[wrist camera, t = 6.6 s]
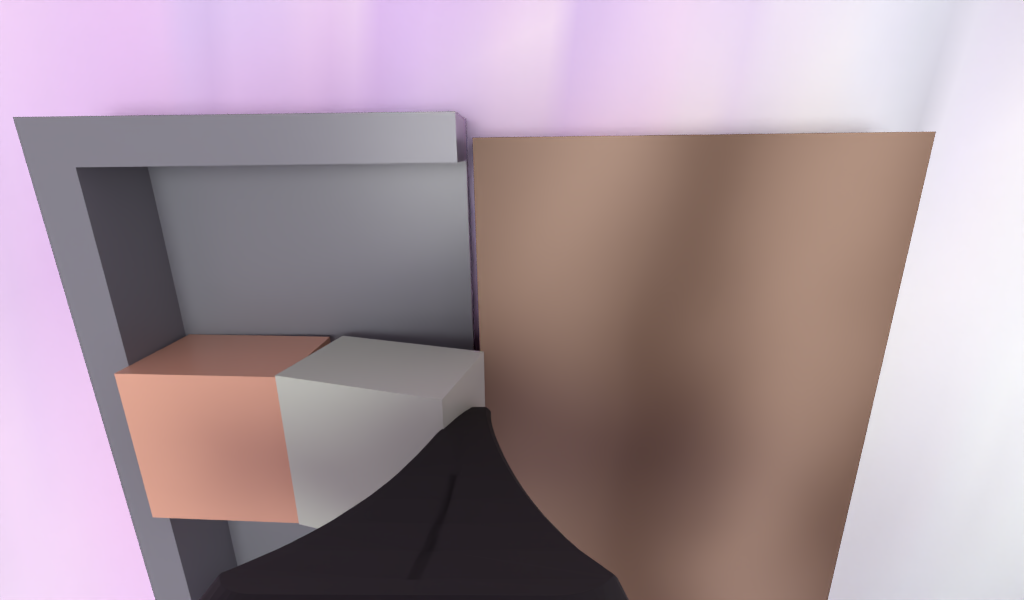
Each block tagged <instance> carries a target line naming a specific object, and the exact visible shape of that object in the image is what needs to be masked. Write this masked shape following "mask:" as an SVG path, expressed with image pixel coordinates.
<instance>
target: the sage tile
mask: <svg viewBox="0 0 1024 600" xmlns="http://www.w3.org/2000/svg"><path fill="white" fill-rule="evenodd" d="M275 379H276V385H277V392H278V398H279V404H280V410H281V416H282V422H283V428H284V435H285V441H286V447H287V453H288V459H289V465H290V472H291V478H292V484H293V490H294V496H295V502H296V508H297V515H298V521H299V524H300V525H305V526H309V527H313V528H317V529H318V528H320V527H321V526H323V525H325V524H327V523H328V522H330V521H332V520H334V519H335V518H337V517H338V516H340V515H341V514H343V513H344V512H346V511H347V510H349V509H351V508H352V507H354V506H355V505H357V504H358V503H360V502H361V501H363V500H364V499H366V498H367V497H369V496H370V495H371V494H373V493H374V492H375V491H377V490H378V489H379V488H381V487H382V486H383V485H384V484H386V483H387V482H388V481H390V480H391V479H392V478H393V477H394V476H395V475H396V474H398V473H399V472H400V471H401V470H402V469H403V468H404V467H405V466H406V465H407V464H408V463H409V462H410V461H411V460H412V459H413V458H414V457H415V456H416V455H417V454H418V453H419V452H420V451H421V450H422V449H423V448H424V447H425V446H426V445H427V444H428V442H429V441H430V440H431V439H432V438H433V437H434V436H435V435H436V434H437V433H438V432H439V431H440V430H441V429H444V428H445V427H446V426H448V425H449V424H450V423H451V422H452V421H453V420H454V419H455V418H457V417H458V416H459V415H461V414H462V413H463V412H465V411H466V410H468V409H470V408H471V407H485V380H484V352H483V351H474V350H465V349H456V348H447V347H438V346H430V345H421V344H412V343H403V342H394V341H385V340H377V339H368V338H359V337H350V336H341V337H340V338H338V339H336V340H334V341H333V342H331V343H329V344H328V345H326V346H324V347H323V348H321V349H319V350H317V351H316V352H314V353H312V354H311V355H309V356H307V357H306V358H304V359H302V360H300V361H299V362H297V363H295V364H294V365H292V366H290V367H289V368H287V369H285V370H283V371H282V372H280V373H278V374H277V375H275Z"/></svg>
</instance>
